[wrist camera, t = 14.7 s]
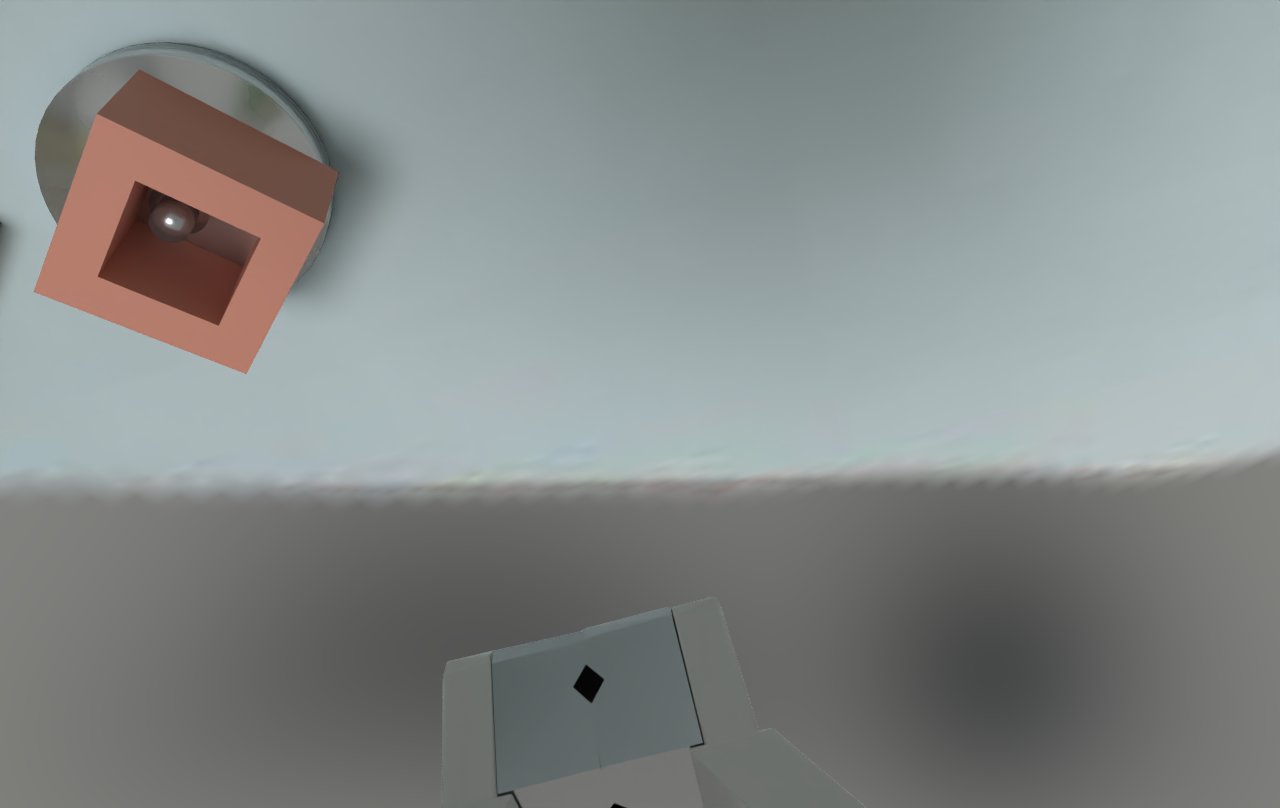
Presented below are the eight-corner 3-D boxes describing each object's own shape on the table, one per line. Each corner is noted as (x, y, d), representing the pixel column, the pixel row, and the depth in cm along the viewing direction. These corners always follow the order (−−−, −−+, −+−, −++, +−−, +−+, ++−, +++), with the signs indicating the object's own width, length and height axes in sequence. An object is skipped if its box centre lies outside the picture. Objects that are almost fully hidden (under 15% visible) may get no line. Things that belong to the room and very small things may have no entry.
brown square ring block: (79, 232, 30) (33, 291, 27) (139, 69, 27) (96, 113, 24) (267, 312, 33) (246, 374, 30) (339, 171, 30) (324, 223, 27)
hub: (21, 218, 31) (-29, 272, 28) (97, -16, 27) (50, 16, 24) (277, 325, 35) (258, 382, 32) (375, 135, 31) (366, 179, 28)
